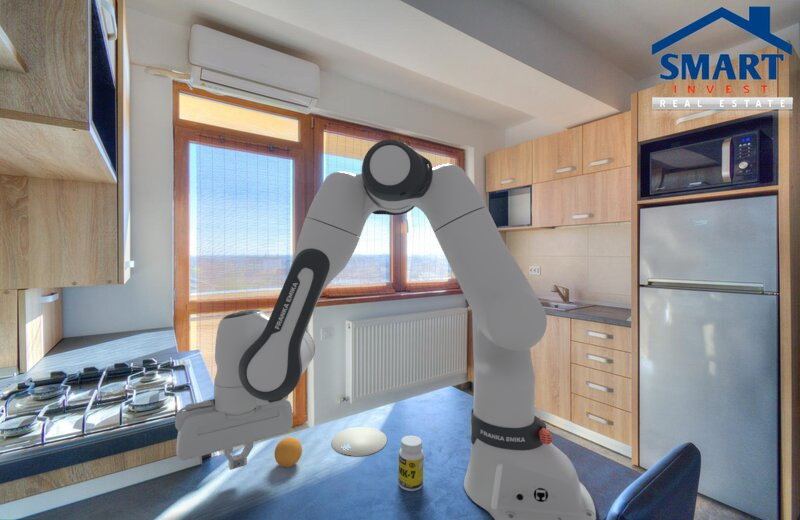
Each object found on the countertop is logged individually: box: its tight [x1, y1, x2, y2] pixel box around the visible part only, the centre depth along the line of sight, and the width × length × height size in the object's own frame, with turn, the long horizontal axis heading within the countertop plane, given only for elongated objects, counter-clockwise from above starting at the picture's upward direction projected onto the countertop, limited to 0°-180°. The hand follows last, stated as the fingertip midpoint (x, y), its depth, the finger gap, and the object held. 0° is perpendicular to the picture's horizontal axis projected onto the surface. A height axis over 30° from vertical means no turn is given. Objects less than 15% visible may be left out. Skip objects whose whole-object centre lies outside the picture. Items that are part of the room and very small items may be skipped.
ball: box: [273, 436, 303, 468], centre depth 72 cm, size 6×6×6 cm
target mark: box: [331, 426, 388, 457], centre depth 82 cm, size 13×13×1 cm
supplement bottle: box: [397, 435, 425, 492], centre depth 67 cm, size 5×5×8 cm
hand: (237, 466), depth 67 cm, fingers closed
